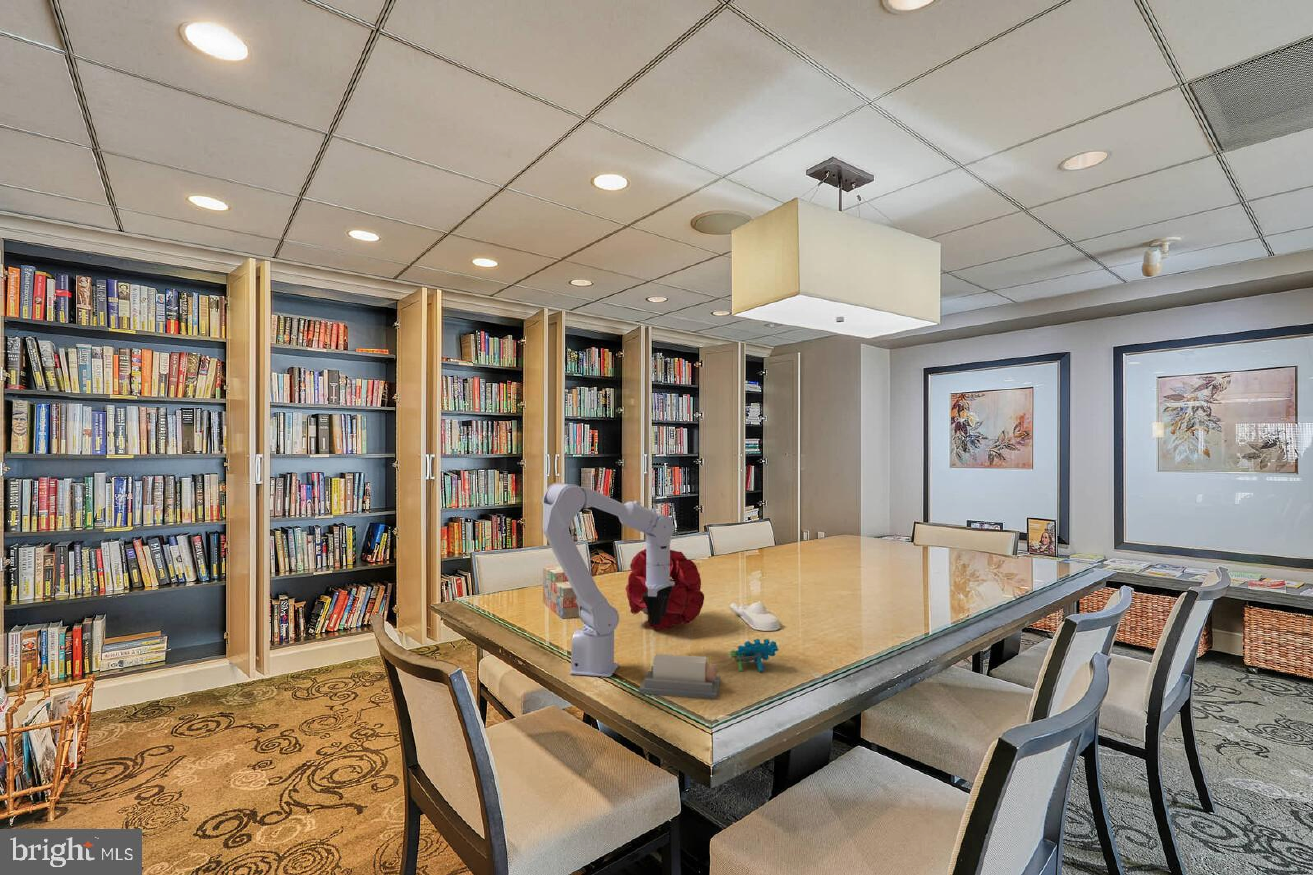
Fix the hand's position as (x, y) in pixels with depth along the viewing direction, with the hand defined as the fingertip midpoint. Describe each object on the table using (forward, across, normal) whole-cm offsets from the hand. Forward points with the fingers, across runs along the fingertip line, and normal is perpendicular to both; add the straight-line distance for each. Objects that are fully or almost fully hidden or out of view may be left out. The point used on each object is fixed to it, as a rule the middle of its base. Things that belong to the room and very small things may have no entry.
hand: (657, 619), depth 144 cm
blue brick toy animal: (+10, -1, -23) cm, 25 cm away
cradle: (+9, -16, -8) cm, 20 cm away
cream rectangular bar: (+8, -16, -8) cm, 20 cm away
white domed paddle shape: (+10, +37, -23) cm, 45 cm away
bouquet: (+10, +30, +4) cm, 31 cm away
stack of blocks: (+10, +39, +39) cm, 56 cm away
